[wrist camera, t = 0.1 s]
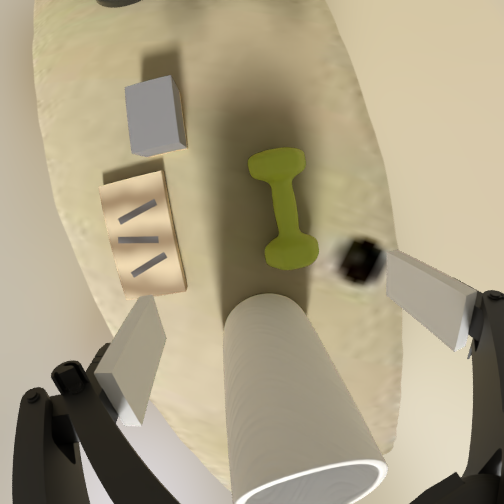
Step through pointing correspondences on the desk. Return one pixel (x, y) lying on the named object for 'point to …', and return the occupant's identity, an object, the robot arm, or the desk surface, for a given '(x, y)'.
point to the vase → (291, 412)
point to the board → (143, 236)
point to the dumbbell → (284, 207)
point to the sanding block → (155, 117)
